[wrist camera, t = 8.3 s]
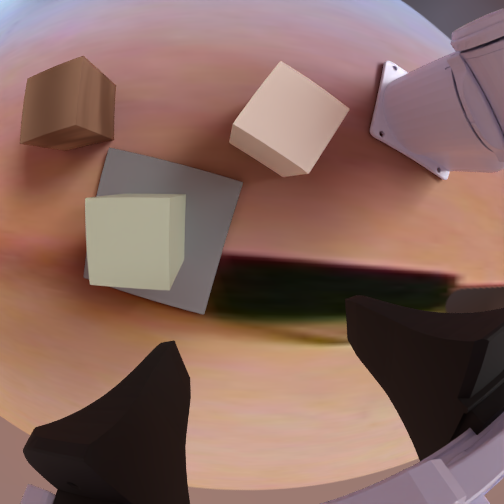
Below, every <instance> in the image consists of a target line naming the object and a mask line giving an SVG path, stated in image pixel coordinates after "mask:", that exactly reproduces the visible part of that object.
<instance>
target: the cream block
mask: <svg viewBox="0 0 504 504" xmlns="http://www.w3.org/2000/svg"><path fill="white" fill-rule="evenodd" d="M349 110H350V109H349V108H348V107H347V106H345V105H344V104H343V103H342V102H340V101H339V100H338V99H336V98H335V97H334V96H332V95H331V94H330V93H328V92H327V91H326V90H324V89H323V88H321V87H320V86H319V85H317V84H316V83H314V82H313V81H311V80H310V79H308V78H307V77H305V76H304V75H302V74H301V73H299V72H298V71H296V70H295V69H293V68H292V67H290V66H288V65H287V64H285V63H283V62H282V61H280V62H279V63H278V65H277V66H276V67H275V68H274V70H273V71H272V72H271V73H270V75H269V76H268V77H267V78H266V80H265V81H264V82H263V84H262V85H261V86H260V87H259V89H258V90H257V91H256V93H255V94H254V95H253V97H252V98H251V99H250V101H249V102H248V103H247V105H246V106H245V107H244V109H243V110H242V112H241V113H240V114H239V116H238V117H237V119H236V120H235V121H234V123H233V125H232V130H231V135H230V140H229V143H230V144H232V145H233V146H235V147H236V148H238V149H240V150H241V151H243V152H245V153H246V154H248V155H249V156H251V157H252V158H254V159H256V160H257V161H259V162H260V163H262V164H263V165H265V166H266V167H268V168H270V169H271V170H273V171H274V172H276V173H277V174H279V175H280V176H282V177H288V176H295V175H303V174H309V173H310V171H311V170H312V168H313V166H314V165H315V163H316V162H317V160H318V159H319V157H320V156H321V154H322V152H323V151H324V149H325V148H326V146H327V145H328V143H329V141H330V140H331V138H332V137H333V135H334V134H335V132H336V130H337V129H338V127H339V126H340V124H341V122H342V121H343V119H344V118H345V116H346V115H347V113H348V111H349Z"/></svg>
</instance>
